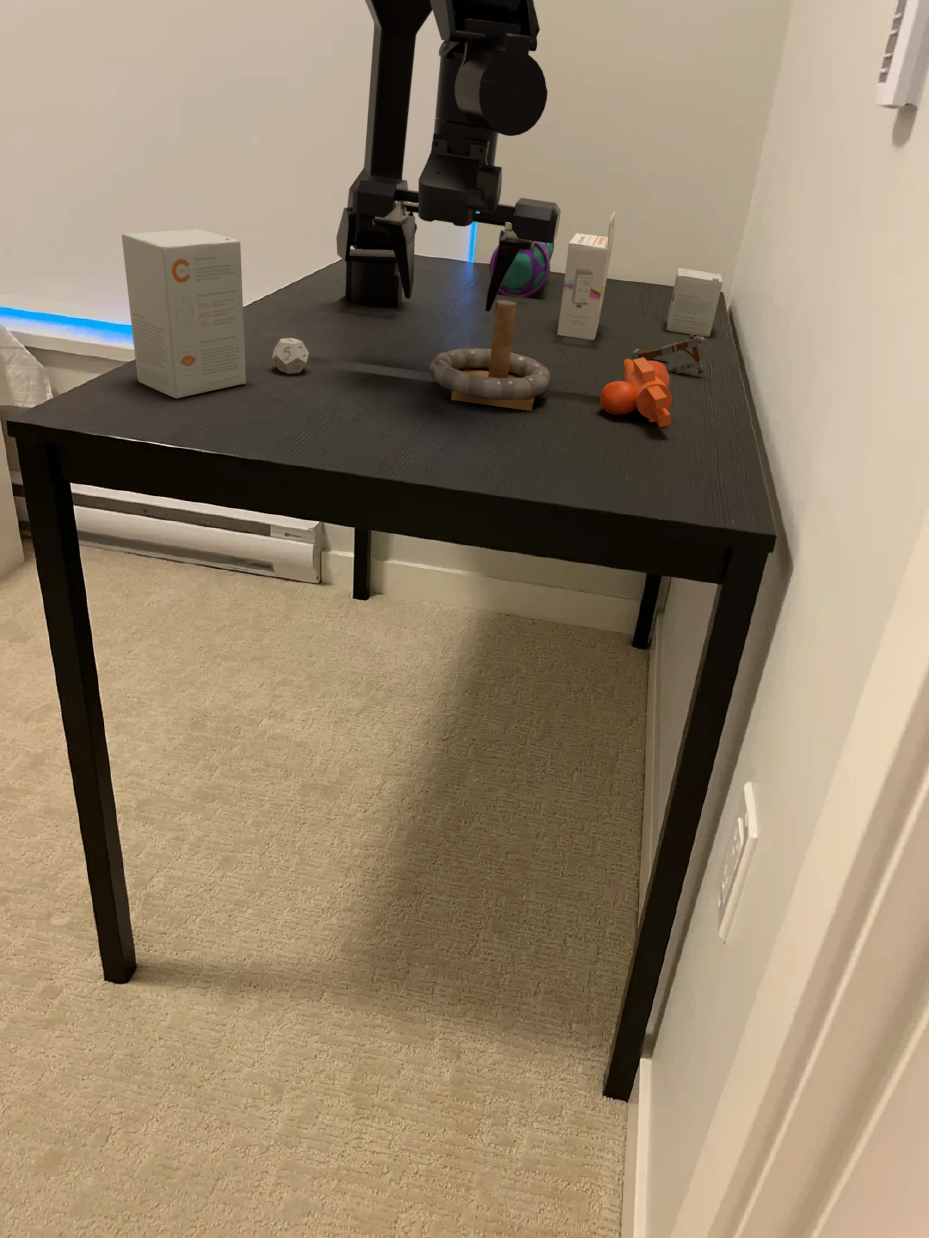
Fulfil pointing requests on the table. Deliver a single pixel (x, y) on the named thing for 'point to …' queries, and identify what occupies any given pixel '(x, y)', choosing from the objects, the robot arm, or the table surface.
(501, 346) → the wooden peg stand
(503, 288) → the pencil case
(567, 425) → the table surface
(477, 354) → the gray segmented ring
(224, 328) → the small box
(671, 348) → the wooden post with brackets
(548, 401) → the table surface
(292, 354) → the game die
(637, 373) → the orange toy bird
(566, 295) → the ink cartridge box
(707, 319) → the white cardboard box
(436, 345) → the table surface
